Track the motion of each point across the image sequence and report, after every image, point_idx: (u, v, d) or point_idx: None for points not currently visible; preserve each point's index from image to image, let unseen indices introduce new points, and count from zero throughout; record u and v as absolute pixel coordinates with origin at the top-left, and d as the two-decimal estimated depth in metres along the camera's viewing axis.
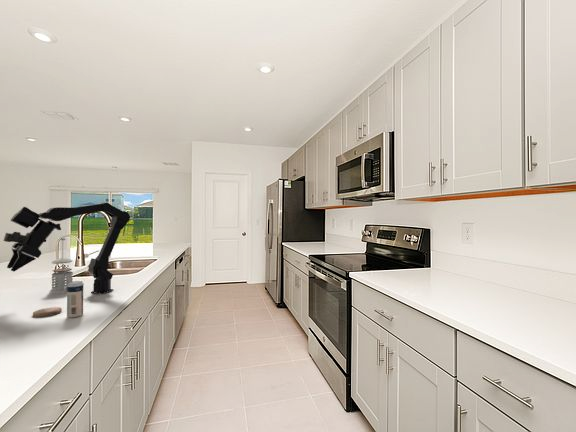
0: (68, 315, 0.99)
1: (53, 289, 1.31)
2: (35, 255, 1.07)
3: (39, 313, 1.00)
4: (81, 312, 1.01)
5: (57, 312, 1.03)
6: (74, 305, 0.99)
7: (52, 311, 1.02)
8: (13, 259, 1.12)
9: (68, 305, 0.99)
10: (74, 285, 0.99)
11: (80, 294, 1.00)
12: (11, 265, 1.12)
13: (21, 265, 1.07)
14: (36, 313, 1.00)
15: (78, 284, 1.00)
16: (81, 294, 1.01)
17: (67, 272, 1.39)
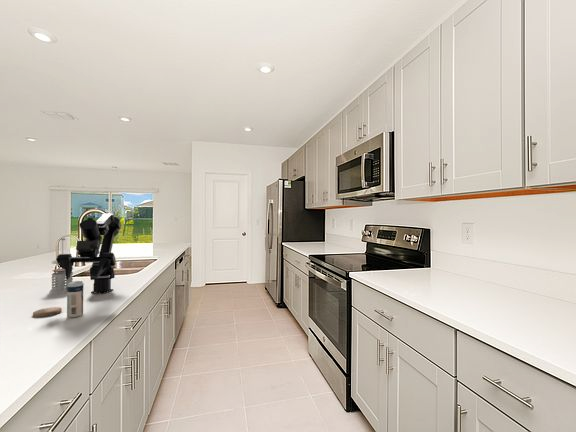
0: (68, 315, 0.99)
1: (53, 289, 1.31)
2: (114, 262, 1.16)
3: (39, 313, 1.00)
4: (81, 312, 1.01)
5: (57, 312, 1.03)
6: (74, 305, 0.99)
7: (52, 311, 1.02)
8: (69, 270, 1.07)
9: (68, 305, 0.99)
10: (74, 285, 0.99)
11: (80, 294, 1.00)
12: (68, 276, 1.06)
13: (101, 272, 1.11)
14: (36, 313, 1.00)
15: (78, 284, 1.00)
16: (81, 294, 1.01)
17: None
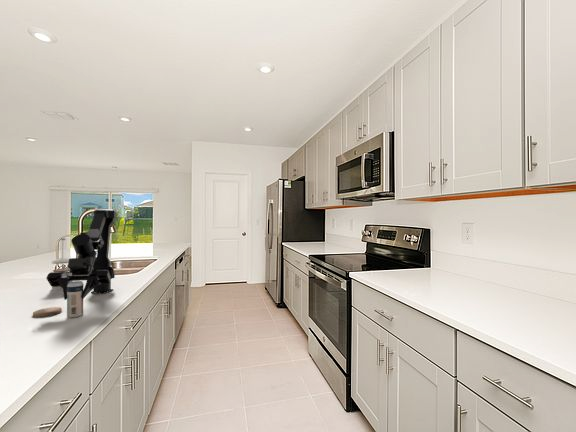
0: (68, 315, 0.99)
1: (53, 289, 1.31)
2: (109, 280, 1.09)
3: (39, 313, 1.00)
4: (81, 312, 1.01)
5: (57, 312, 1.03)
6: (74, 305, 0.99)
7: (52, 311, 1.02)
8: None
9: (68, 305, 0.99)
10: (74, 285, 0.99)
11: (80, 294, 1.00)
12: (66, 296, 1.00)
13: (88, 292, 1.03)
14: (36, 313, 1.00)
15: (78, 284, 1.00)
16: (81, 294, 1.01)
17: (67, 272, 1.39)
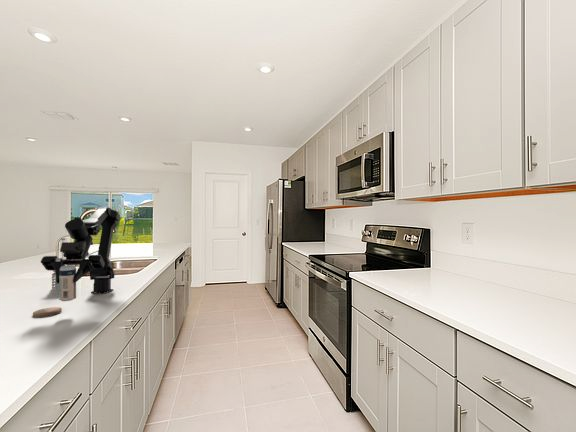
0: (60, 298, 0.99)
1: (53, 289, 1.31)
2: (103, 265, 1.09)
3: (39, 313, 1.00)
4: (73, 296, 1.01)
5: (57, 312, 1.03)
6: (66, 288, 0.99)
7: (52, 311, 1.02)
8: None
9: (60, 289, 0.99)
10: (66, 269, 0.99)
11: (72, 278, 1.00)
12: None
13: (81, 276, 1.03)
14: (36, 313, 1.00)
15: (70, 268, 1.00)
16: (73, 278, 1.01)
17: None
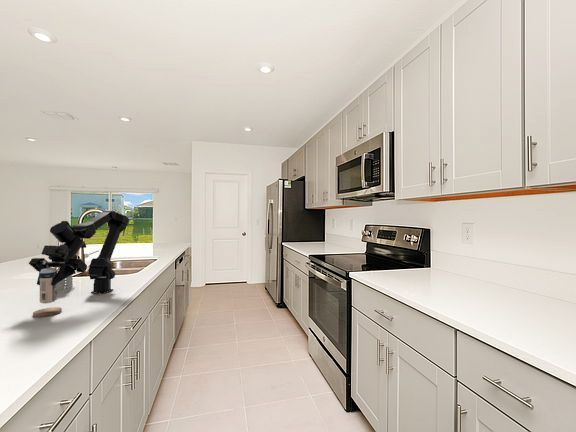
0: (40, 300, 1.02)
1: None
2: (84, 269, 1.09)
3: (39, 313, 1.00)
4: (52, 299, 1.03)
5: (57, 312, 1.03)
6: (44, 291, 1.01)
7: (52, 311, 1.02)
8: None
9: (40, 291, 1.02)
10: (44, 272, 1.01)
11: (50, 281, 1.02)
12: None
13: (61, 279, 1.05)
14: (36, 313, 1.00)
15: (48, 271, 1.02)
16: (51, 281, 1.02)
17: None
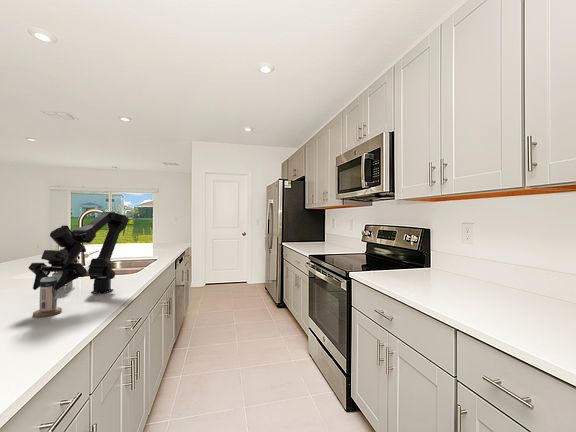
0: (39, 309, 1.02)
1: None
2: (84, 274, 1.08)
3: (39, 313, 1.00)
4: (52, 307, 1.03)
5: (57, 312, 1.03)
6: (44, 299, 1.01)
7: (52, 311, 1.02)
8: (39, 280, 1.04)
9: (40, 299, 1.02)
10: (44, 280, 1.01)
11: (50, 289, 1.02)
12: (37, 286, 1.03)
13: (64, 284, 1.04)
14: (36, 313, 1.00)
15: (48, 280, 1.02)
16: (52, 290, 1.02)
17: None
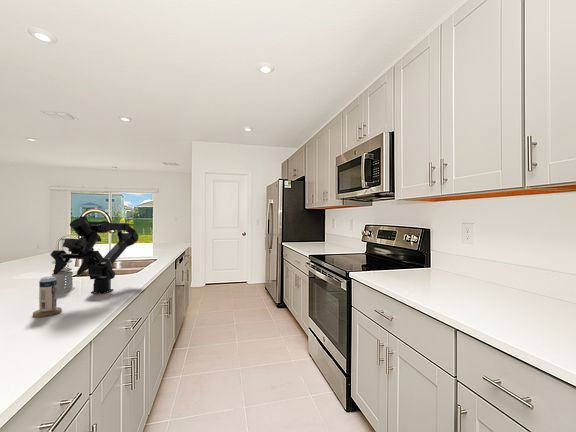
0: (39, 309, 1.02)
1: None
2: (101, 260, 1.18)
3: (39, 313, 1.00)
4: (51, 307, 1.03)
5: (57, 312, 1.03)
6: (43, 299, 1.01)
7: (52, 311, 1.02)
8: (58, 266, 1.14)
9: (39, 299, 1.02)
10: (43, 280, 1.01)
11: (50, 289, 1.02)
12: (57, 271, 1.12)
13: (85, 269, 1.14)
14: (36, 313, 1.00)
15: (48, 280, 1.02)
16: (51, 290, 1.02)
17: (67, 272, 1.39)
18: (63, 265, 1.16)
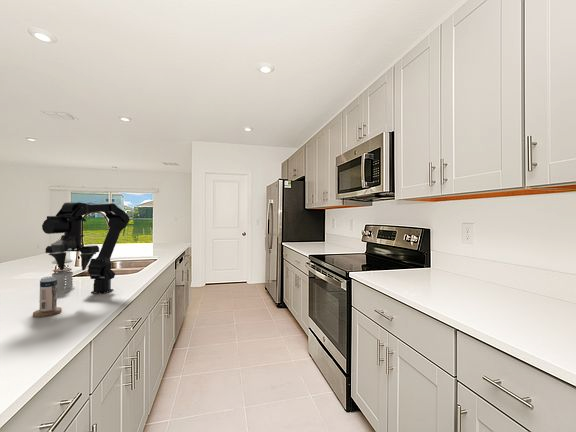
0: (39, 309, 1.02)
1: None
2: (97, 250, 1.19)
3: (39, 313, 1.00)
4: (51, 307, 1.03)
5: (57, 312, 1.03)
6: (44, 299, 1.01)
7: (52, 311, 1.02)
8: (60, 261, 1.17)
9: (40, 299, 1.02)
10: (44, 280, 1.01)
11: (50, 289, 1.02)
12: (62, 266, 1.18)
13: (87, 262, 1.19)
14: (36, 313, 1.00)
15: (48, 280, 1.02)
16: (51, 290, 1.02)
17: (67, 272, 1.39)
18: (64, 256, 1.20)
